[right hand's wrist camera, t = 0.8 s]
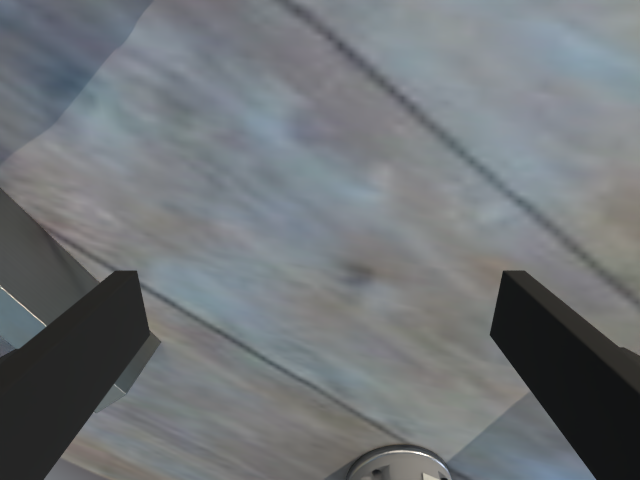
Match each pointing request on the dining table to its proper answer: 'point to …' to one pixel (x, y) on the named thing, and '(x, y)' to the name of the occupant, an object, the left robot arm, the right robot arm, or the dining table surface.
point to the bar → (46, 288)
